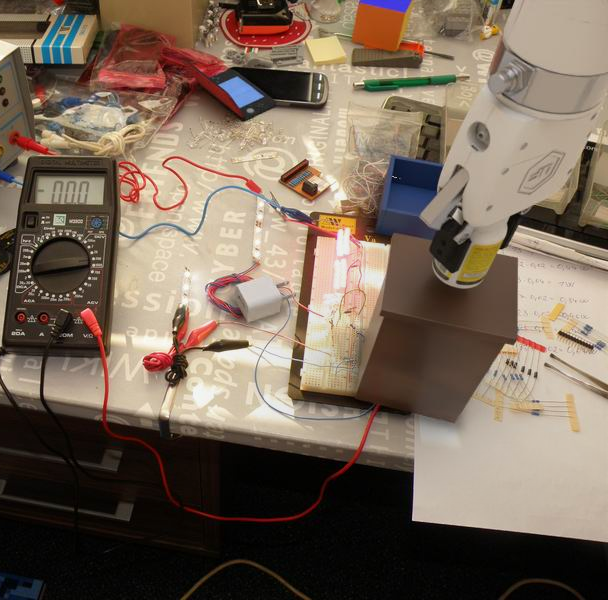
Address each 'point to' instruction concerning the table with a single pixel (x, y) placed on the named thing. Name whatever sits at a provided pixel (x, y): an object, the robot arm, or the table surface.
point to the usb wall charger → (260, 297)
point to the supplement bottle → (474, 254)
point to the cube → (382, 23)
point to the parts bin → (407, 197)
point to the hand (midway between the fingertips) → (467, 248)
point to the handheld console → (233, 92)
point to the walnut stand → (434, 333)
